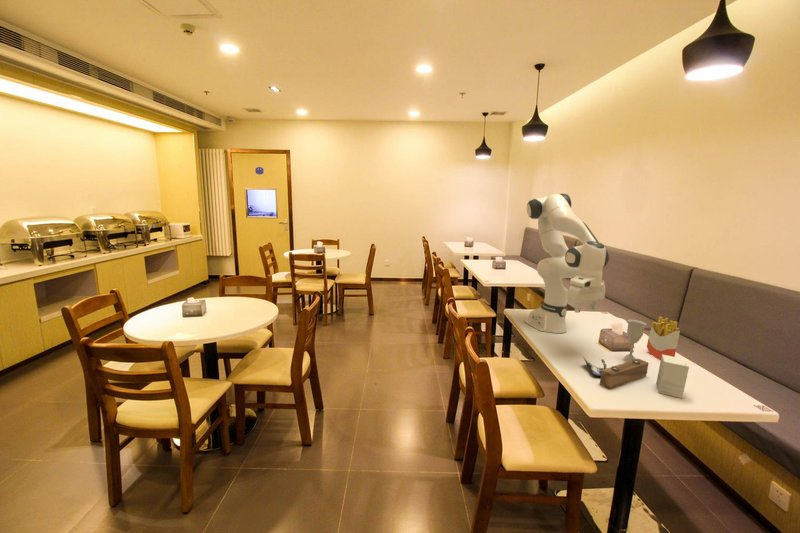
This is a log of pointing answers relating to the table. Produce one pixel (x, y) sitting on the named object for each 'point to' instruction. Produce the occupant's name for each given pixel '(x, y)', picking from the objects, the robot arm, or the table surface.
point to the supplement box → (672, 376)
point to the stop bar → (623, 373)
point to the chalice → (634, 336)
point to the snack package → (596, 368)
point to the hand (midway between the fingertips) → (584, 310)
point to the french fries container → (663, 338)
